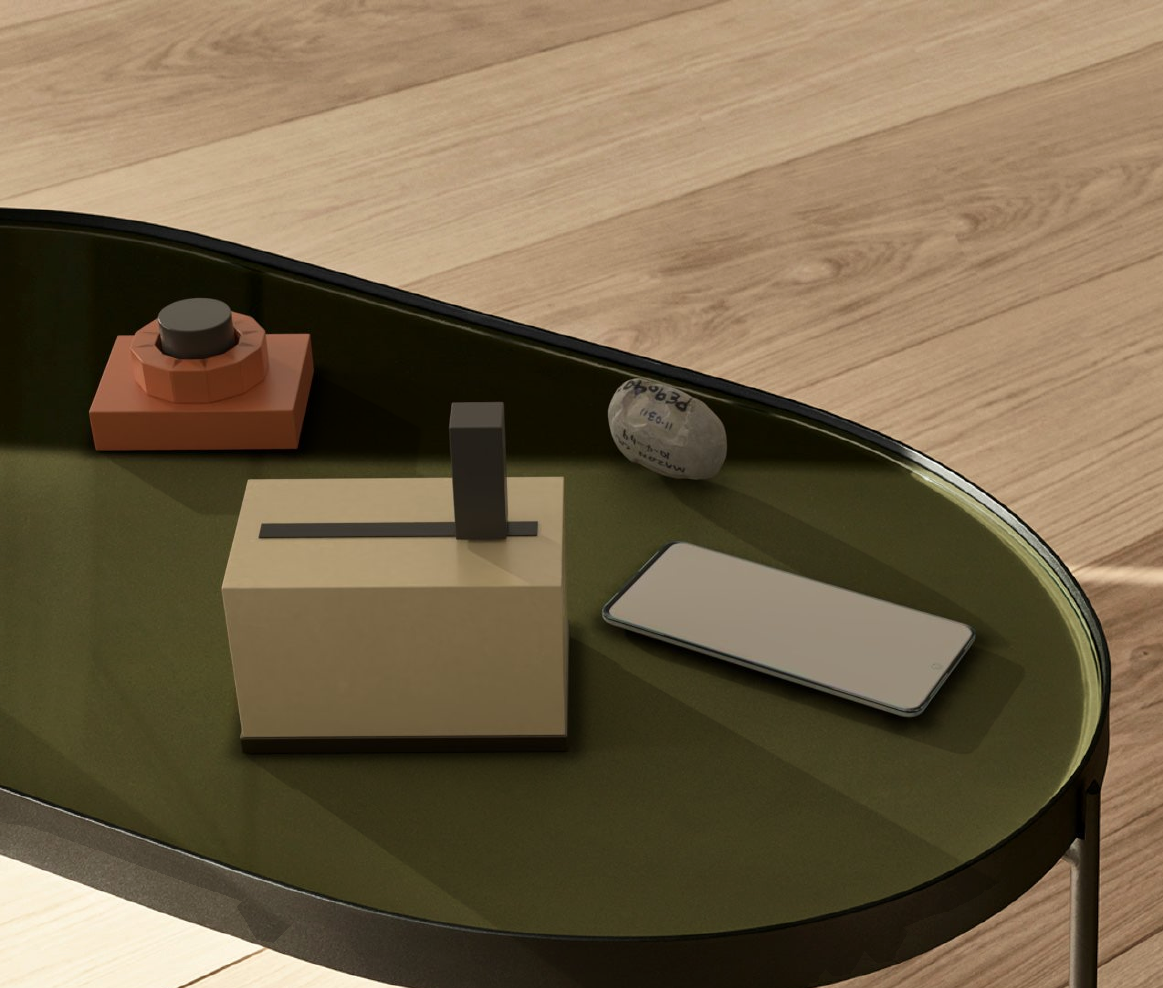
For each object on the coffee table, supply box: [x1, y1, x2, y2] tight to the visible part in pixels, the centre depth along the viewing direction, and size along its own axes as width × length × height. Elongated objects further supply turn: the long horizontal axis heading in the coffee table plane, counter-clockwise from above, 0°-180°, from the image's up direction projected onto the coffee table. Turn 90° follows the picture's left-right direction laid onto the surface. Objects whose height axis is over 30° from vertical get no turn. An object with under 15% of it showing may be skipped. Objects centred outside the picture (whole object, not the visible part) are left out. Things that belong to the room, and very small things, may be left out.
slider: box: [448, 401, 508, 540], centre depth 82 cm, size 2×2×5 cm
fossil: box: [607, 377, 728, 481], centre depth 100 cm, size 6×3×5 cm, turn 59°
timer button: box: [157, 297, 235, 359], centre depth 104 cm, size 4×4×2 cm
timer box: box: [88, 310, 315, 452], centre depth 106 cm, size 10×8×4 cm
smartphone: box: [601, 540, 977, 718], centre depth 91 cm, size 7×1×15 cm
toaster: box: [221, 476, 571, 754], centre depth 86 cm, size 13×8×8 cm, turn 90°
